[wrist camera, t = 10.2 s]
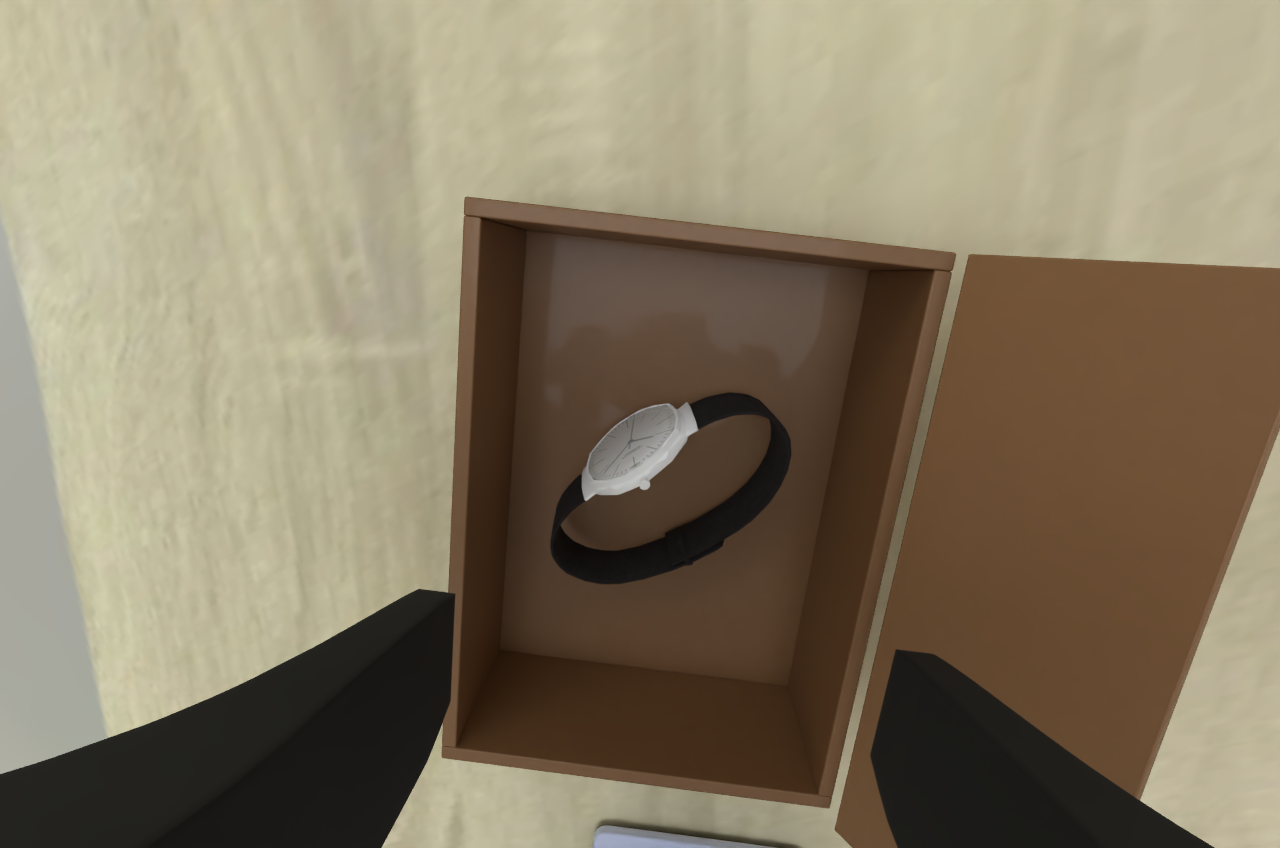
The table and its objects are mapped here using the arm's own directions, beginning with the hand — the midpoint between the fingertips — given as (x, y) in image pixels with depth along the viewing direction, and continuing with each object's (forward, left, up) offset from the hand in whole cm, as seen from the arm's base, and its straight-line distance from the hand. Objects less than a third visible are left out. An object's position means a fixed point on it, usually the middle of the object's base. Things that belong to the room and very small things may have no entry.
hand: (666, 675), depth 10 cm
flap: (0, -7, -3) cm, 7 cm away
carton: (0, 0, -10) cm, 10 cm away
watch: (0, 0, -10) cm, 10 cm away
